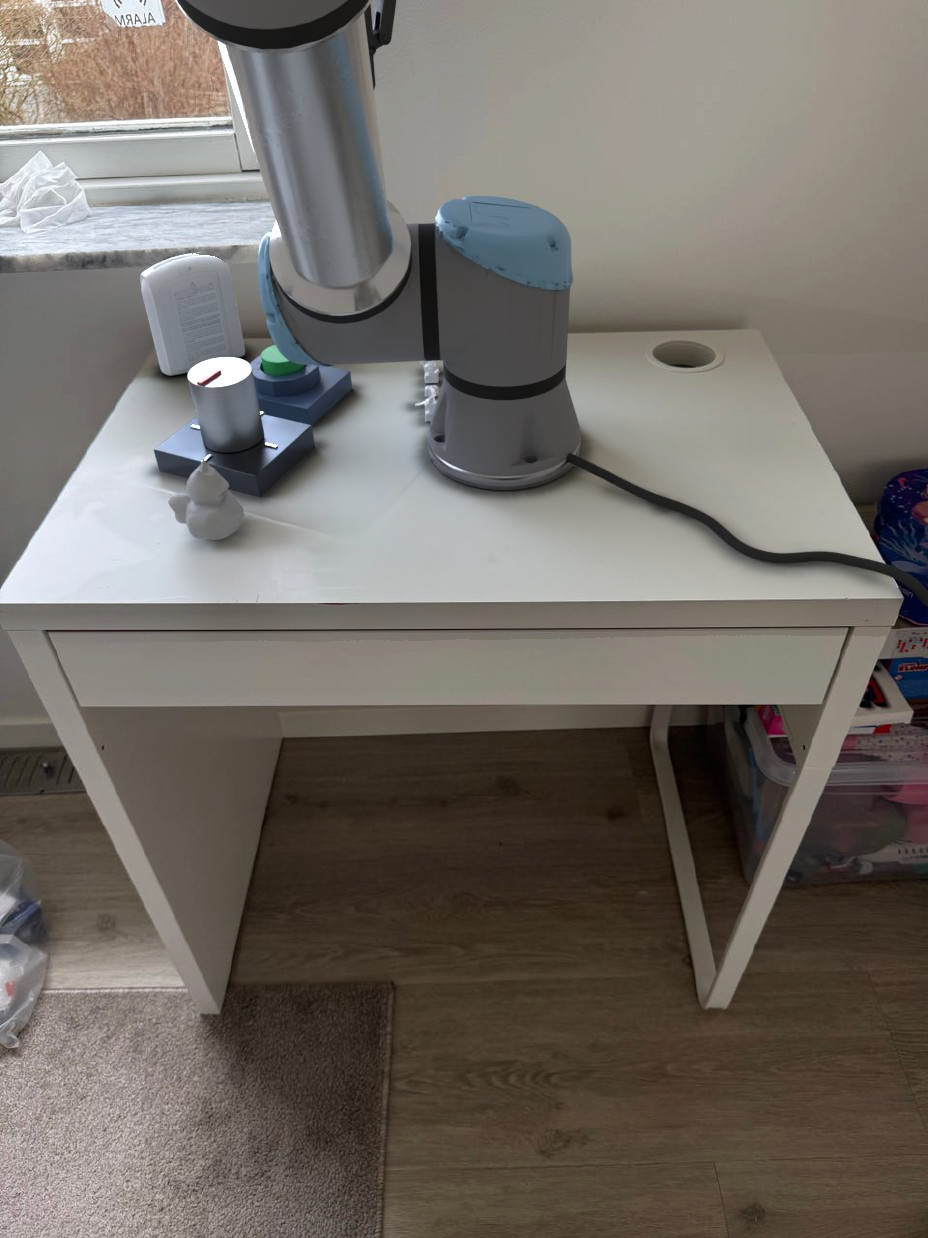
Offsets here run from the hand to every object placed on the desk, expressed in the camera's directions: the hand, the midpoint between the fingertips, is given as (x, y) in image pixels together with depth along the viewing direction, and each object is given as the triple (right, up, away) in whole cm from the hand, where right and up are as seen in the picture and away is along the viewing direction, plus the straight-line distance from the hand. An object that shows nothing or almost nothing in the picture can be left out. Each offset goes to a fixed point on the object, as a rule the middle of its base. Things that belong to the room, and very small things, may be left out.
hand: (358, 127), depth 96 cm
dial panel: (-12, -34, 0) cm, 36 cm away
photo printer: (-20, -20, +16) cm, 32 cm away
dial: (-12, -32, -2) cm, 34 cm away
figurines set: (+7, -25, +9) cm, 27 cm away
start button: (-9, -23, +6) cm, 25 cm away
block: (-9, -25, +9) cm, 28 cm away
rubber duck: (-12, -42, -9) cm, 45 cm away
